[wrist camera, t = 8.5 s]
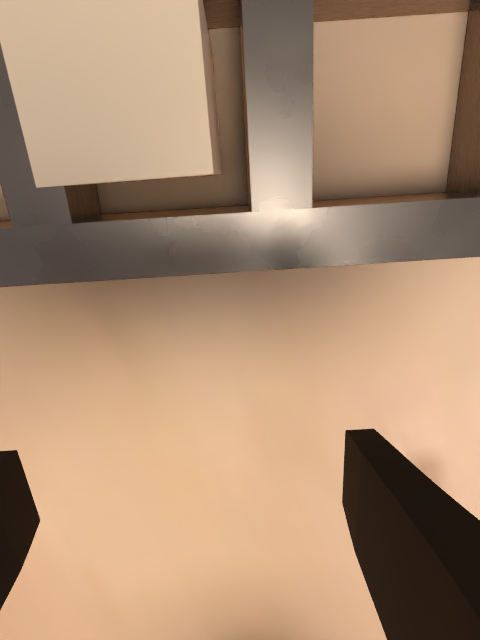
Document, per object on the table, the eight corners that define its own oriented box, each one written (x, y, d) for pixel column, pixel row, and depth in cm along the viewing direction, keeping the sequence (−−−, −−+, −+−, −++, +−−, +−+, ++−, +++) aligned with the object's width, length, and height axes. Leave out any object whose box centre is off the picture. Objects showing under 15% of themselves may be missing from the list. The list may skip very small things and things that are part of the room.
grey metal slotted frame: (-123, 278, 16) (-197, 299, 13) (-243, -14, 13) (-379, -67, 10) (487, 239, 16) (540, 252, 13) (539, -68, 13) (627, -138, 10)
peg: (121, 182, 15) (36, 187, 9) (101, 63, 14) (-21, -38, 7) (222, 174, 15) (213, 173, 9) (212, 55, 14) (192, -56, 7)
